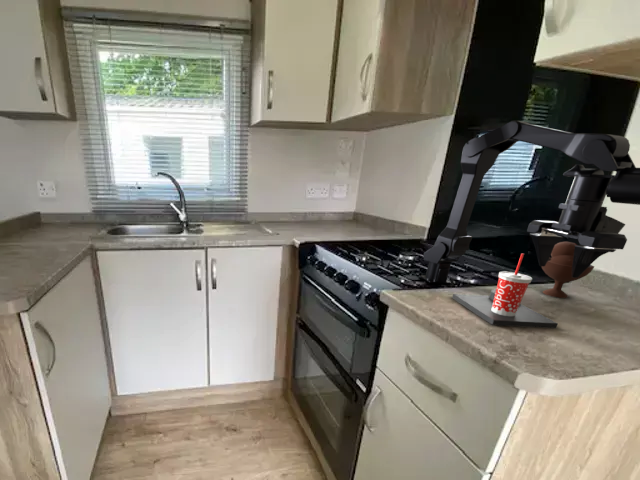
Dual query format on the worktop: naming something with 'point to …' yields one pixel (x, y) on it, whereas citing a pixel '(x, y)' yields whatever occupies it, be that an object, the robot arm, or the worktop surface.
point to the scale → (522, 317)
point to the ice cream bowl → (562, 268)
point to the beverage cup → (510, 291)
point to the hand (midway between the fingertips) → (557, 271)
